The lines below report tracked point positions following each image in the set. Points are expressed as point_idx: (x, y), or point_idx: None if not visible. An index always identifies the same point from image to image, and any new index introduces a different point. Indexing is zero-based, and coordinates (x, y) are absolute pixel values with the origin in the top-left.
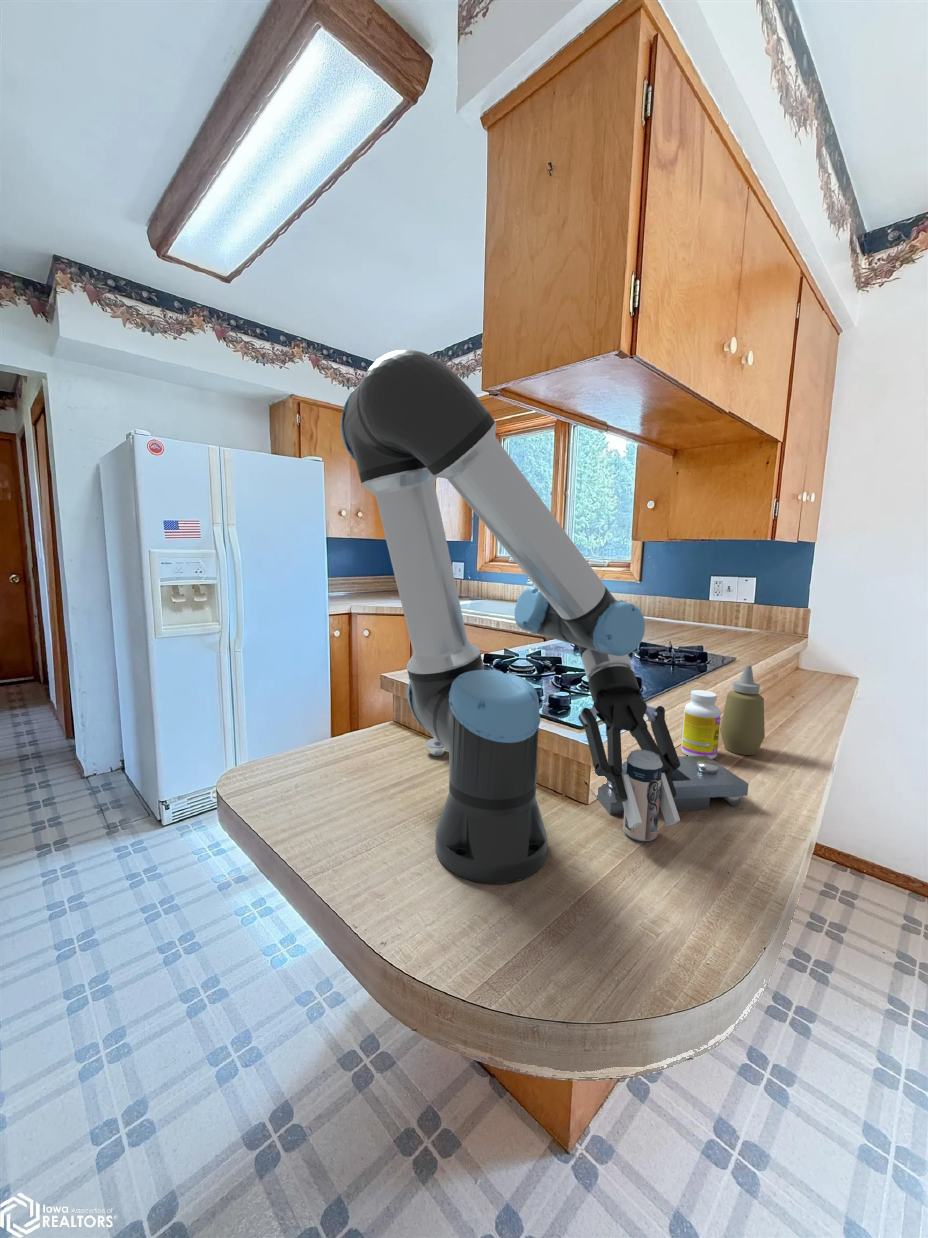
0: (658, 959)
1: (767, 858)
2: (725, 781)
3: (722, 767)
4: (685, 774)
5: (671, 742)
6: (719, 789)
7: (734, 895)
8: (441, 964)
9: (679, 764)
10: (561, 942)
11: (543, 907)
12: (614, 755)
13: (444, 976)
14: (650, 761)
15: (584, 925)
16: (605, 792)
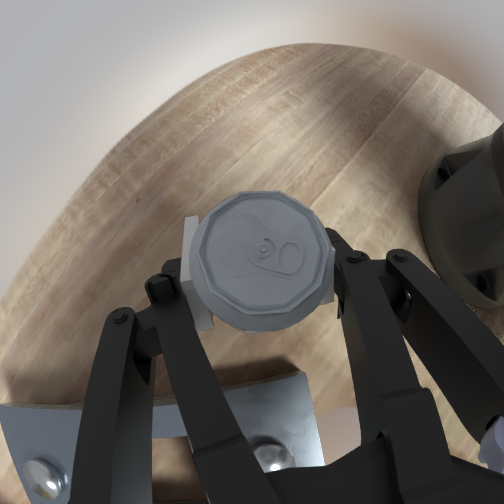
0: (292, 72)
1: (62, 245)
2: (25, 421)
3: (20, 475)
4: None
5: (92, 386)
6: (43, 407)
7: (158, 153)
8: (450, 89)
9: (110, 315)
10: (379, 90)
11: (403, 126)
12: (379, 290)
13: (444, 82)
14: (256, 191)
15: (361, 104)
16: (308, 420)
